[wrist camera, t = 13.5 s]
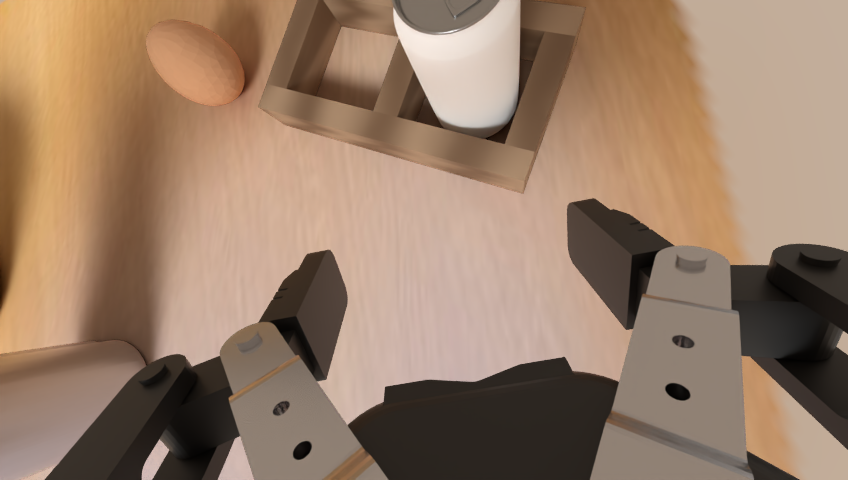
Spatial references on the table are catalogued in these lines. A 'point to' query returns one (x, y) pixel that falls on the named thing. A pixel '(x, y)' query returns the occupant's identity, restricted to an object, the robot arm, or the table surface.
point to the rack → (418, 91)
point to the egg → (195, 62)
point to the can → (464, 59)
